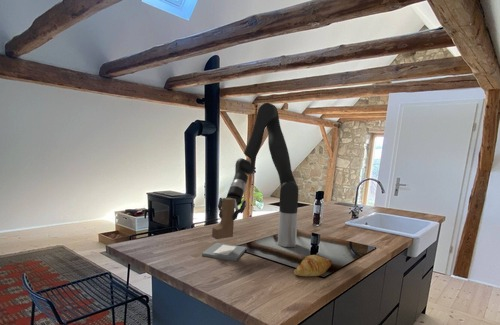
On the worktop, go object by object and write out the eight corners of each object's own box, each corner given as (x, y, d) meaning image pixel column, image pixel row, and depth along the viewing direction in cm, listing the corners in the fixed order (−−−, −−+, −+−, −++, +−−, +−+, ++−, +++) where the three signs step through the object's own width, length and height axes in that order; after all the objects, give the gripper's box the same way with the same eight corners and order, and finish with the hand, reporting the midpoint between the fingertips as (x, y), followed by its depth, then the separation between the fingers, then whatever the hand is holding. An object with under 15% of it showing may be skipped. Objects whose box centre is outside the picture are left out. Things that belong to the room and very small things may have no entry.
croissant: (299, 289, 108) (307, 274, 105) (283, 268, 115) (291, 254, 112) (334, 275, 121) (342, 262, 118) (318, 257, 128) (325, 244, 125)
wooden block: (216, 239, 129) (219, 200, 128) (211, 236, 133) (213, 198, 132) (233, 237, 134) (235, 199, 134) (227, 234, 138) (230, 197, 137)
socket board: (246, 249, 139) (246, 246, 139) (235, 261, 124) (235, 257, 123) (216, 245, 143) (216, 242, 143) (201, 255, 128) (202, 252, 128)
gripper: (221, 184, 144) (210, 211, 133) (249, 186, 140) (240, 215, 129) (225, 193, 149) (214, 220, 138) (251, 196, 145) (243, 224, 135)
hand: (227, 218), depth 134 cm, fingers closed on wooden block, 6 cm apart
